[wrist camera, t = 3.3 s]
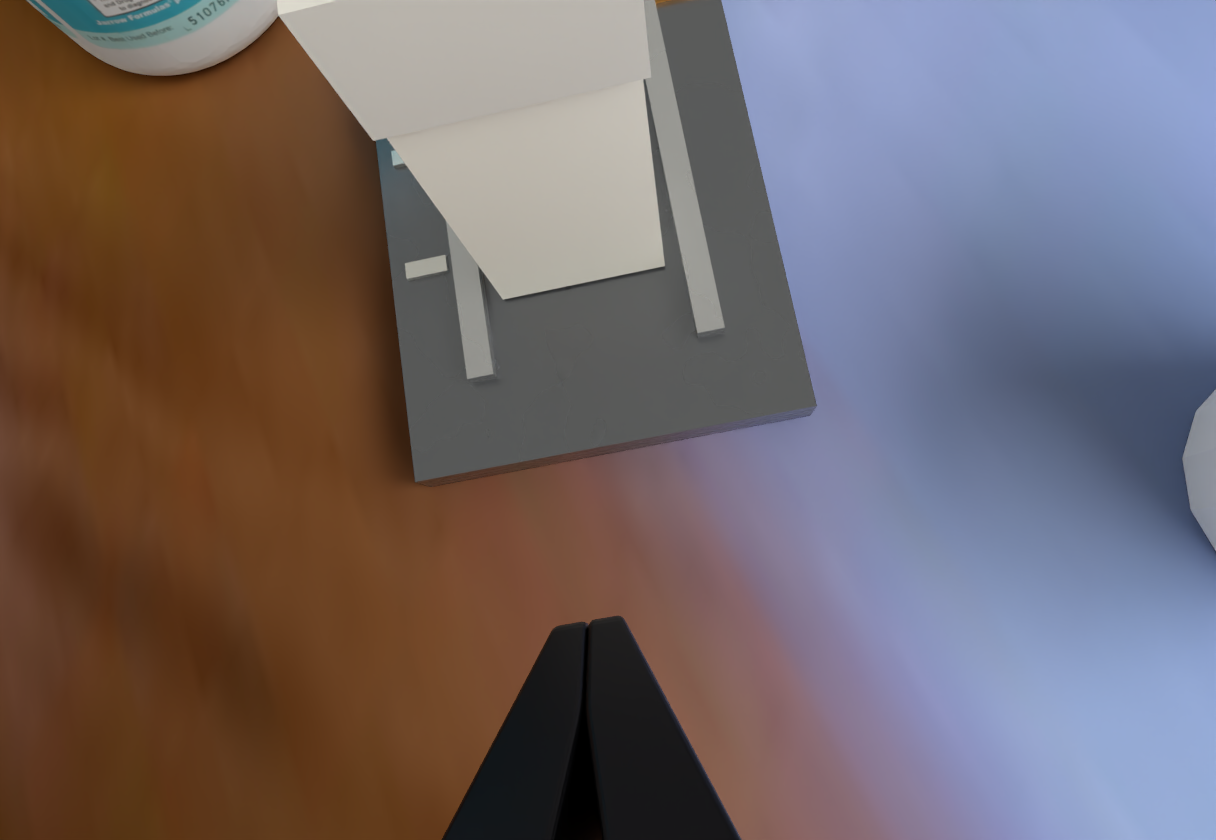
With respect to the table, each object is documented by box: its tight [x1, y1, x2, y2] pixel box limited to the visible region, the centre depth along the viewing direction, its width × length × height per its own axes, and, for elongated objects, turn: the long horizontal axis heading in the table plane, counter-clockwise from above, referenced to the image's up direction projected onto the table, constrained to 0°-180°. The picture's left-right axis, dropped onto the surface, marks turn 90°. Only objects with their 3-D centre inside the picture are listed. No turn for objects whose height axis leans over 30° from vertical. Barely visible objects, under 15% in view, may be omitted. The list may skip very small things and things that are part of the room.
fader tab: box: [277, 0, 665, 300], centre depth 13 cm, size 3×4×10 cm
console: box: [376, 0, 817, 487], centre depth 19 cm, size 14×9×1 cm, turn 10°
